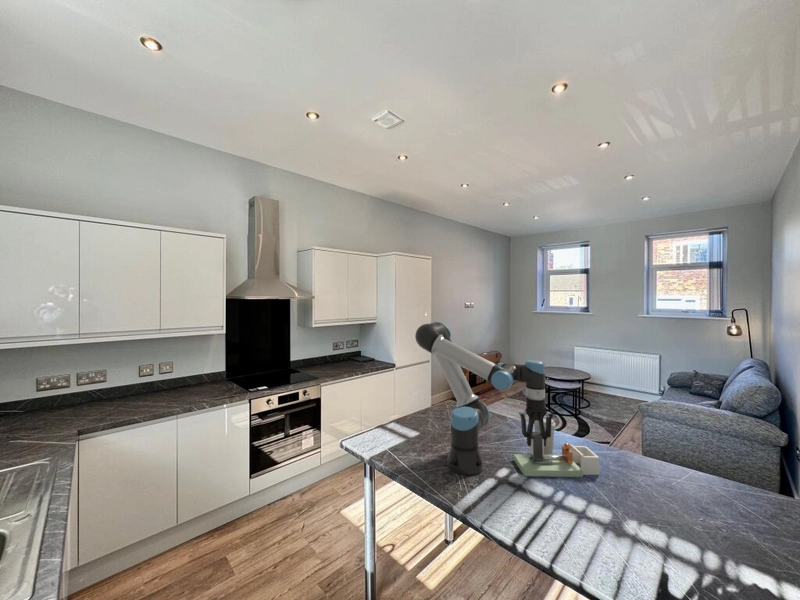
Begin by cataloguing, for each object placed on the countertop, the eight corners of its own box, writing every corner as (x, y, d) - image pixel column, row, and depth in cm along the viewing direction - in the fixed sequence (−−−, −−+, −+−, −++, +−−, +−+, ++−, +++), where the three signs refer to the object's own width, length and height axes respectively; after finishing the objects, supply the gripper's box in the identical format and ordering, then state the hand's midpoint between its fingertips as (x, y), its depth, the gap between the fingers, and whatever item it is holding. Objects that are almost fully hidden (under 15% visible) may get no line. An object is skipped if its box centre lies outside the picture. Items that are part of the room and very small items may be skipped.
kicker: (534, 463, 129) (534, 436, 129) (529, 456, 135) (529, 430, 135) (573, 464, 128) (573, 436, 128) (566, 457, 134) (566, 431, 134)
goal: (581, 474, 126) (581, 455, 126) (570, 462, 136) (569, 444, 136) (599, 474, 126) (598, 455, 126) (586, 462, 135) (585, 444, 135)
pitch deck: (524, 476, 126) (524, 470, 126) (514, 459, 139) (513, 454, 139) (582, 476, 125) (582, 470, 125) (567, 460, 138) (567, 454, 138)
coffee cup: (551, 447, 150) (550, 415, 150) (559, 457, 140) (559, 423, 141) (530, 446, 151) (530, 415, 151) (537, 456, 141) (537, 423, 141)
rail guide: (532, 463, 130) (532, 461, 130) (529, 458, 134) (529, 456, 134) (552, 464, 129) (552, 461, 129) (548, 458, 134) (548, 456, 134)
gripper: (518, 400, 129) (519, 457, 128) (559, 400, 128) (561, 457, 128) (512, 395, 136) (513, 449, 136) (551, 395, 135) (553, 449, 135)
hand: (536, 453), depth 132 cm, fingers closed on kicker, 4 cm apart
